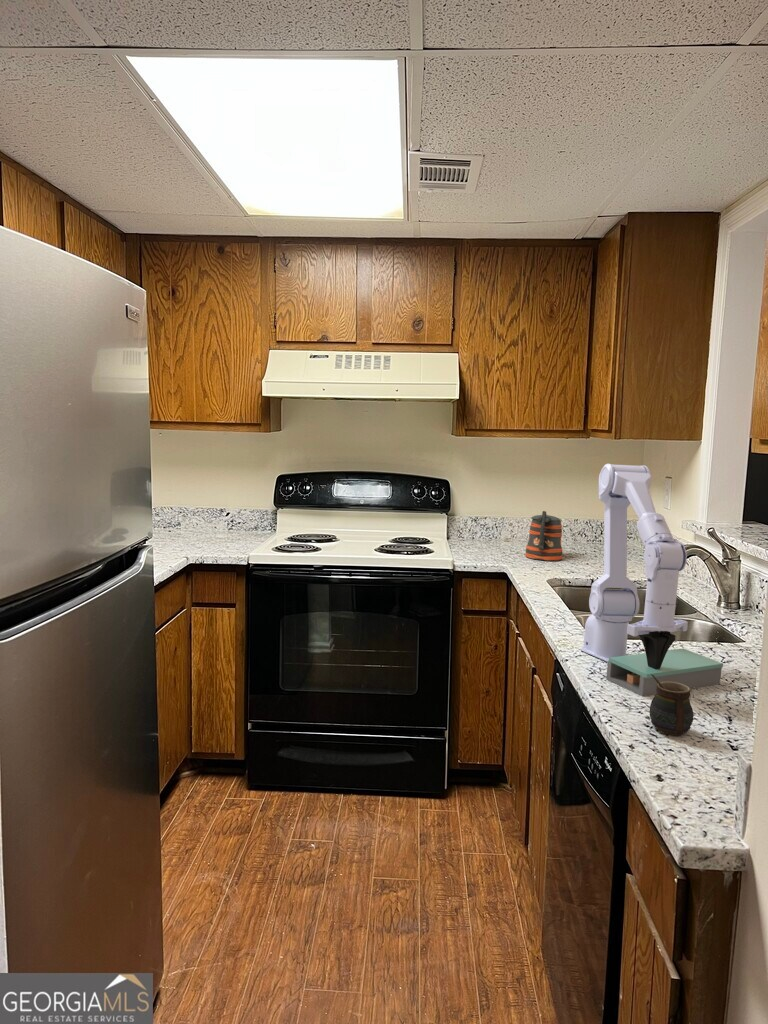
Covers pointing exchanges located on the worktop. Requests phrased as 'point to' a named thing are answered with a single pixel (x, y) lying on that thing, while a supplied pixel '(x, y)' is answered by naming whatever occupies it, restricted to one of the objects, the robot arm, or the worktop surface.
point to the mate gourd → (671, 708)
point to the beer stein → (545, 538)
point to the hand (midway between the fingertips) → (653, 667)
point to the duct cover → (666, 663)
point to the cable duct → (660, 679)
